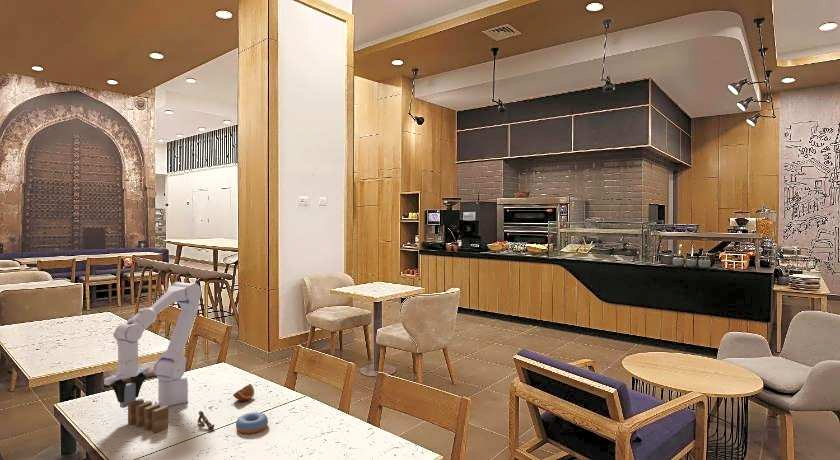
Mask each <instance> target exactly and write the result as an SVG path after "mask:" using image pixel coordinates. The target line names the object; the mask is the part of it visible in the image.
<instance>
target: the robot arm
mask: <svg viewBox="0 0 840 460" xmlns="http://www.w3.org/2000/svg"><path fill="white" fill-rule="evenodd" d="M202 294H203V291H202V289H201V287H200V285H199V284H197V283H195V282H193V283H188V282H181V281H175V282H173V283H172V284H171V285H170V286H169V287H167V290H166V291H165V293H163V294H162V295H161V296H160V297H159V298H158V299H157V300H156V301H155V302H154V303H153V304H152V305H151V306H150V307H144V308H140V309H139V310H138V313H136V314H135V315H134V316H132V317H131V318H129V319H128V320H127V321H126V322H124V323H123V322H122V323H121V324H119V325H118V326H116V327H115V330H114V332H113V333H112V334H113V335H112V336H113V337H114V339H115V340H116V345H117V373H114V374H112V375H110V376H108V377H105V378H104V379H103V383H104V385H105V386H111V388H112V389H113V391H114V393H115V396H116V400H117V402H118V403H119V404H120V403H123V402H124V391H125V387H126V384H127V383H126V382H124V380H127V379H130V383H132V382H134V383H136V399H137V398H139V395H140V391H141V389H142V386H143V383H144V381H145V380H146V379H147V375H146V373H147V374H148V373H150V372H151V366H149V365H144V366H140V367H139V340H140V339H141V338H142V336H143V333H144V331H145V330H146V329H147V328H148V327H149V326H151V324H153V323H154V322H155V321H156V320H157V318H158V314H160V313H161V312H163V311H164V310H165V309H167V307H169V306H170V305H172V304H173V303H174V302H176V303H177V304H178V305H179V306H180V309H181V310H180V313H179V316H178V318H177V321H176V324H175V327H174V329H173V332H172V336H171V339H170V341H169V344H168V346H167V349H166V350H165V351H164V352H162V353H161V354H160V355H159V357H158V360H156V361H155V363H154V365H153V369H152V370H153V374H154V375H155V376H156V379H157V380H158V382H157V384H158V387H157V389H158V390H157V391H158V393H157V394H158V399H155V400H154V401H155V404H156V403H157V404H160V407H163V406H168V407H171V406H176V405H179V404H183V403H188V402H189V394H188V393H189V386H188V385H189V383H188V377H187V376H186V375H185V372H186V363H187V357H186V356H185V355H184V351H185V349H186V345H187V343H188V340H189V336H190V334H191V331H192V328H193V325H194V323H195V319H196V317H197V313H198V311H199V306H200V301H201V300H200V299H201V297H202Z"/></svg>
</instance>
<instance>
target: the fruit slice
mask: <svg viewBox="0 0 840 460" xmlns="http://www.w3.org/2000/svg"><path fill="white" fill-rule="evenodd" d="M254 395H255V388H254V387H253V385H252V384H251V383H249V384H248V385H245V386H244V387H242V388H241V389H239V390H237V391H236V392H235V393H234V394H232V397H234V398H235V399H236V400H237V401H240V402H245V401H249V400H251V399H252V398H253V397H254Z"/></svg>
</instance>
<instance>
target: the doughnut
mask: <svg viewBox="0 0 840 460" xmlns="http://www.w3.org/2000/svg"><path fill="white" fill-rule="evenodd" d="M268 423H269V418H268V416H267V415H266V414H265V413H262V412H255V411H253V412H248V413H245V414H242V415H241V416H239V417H238V418H237V419H236V422H235V428H236V430H237V431H238V432H239V433H241V434H245V435H248V434H251V435H252V434H257V433H260V432H262V431H263V430H265V429H266V428H267V426H268Z"/></svg>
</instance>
